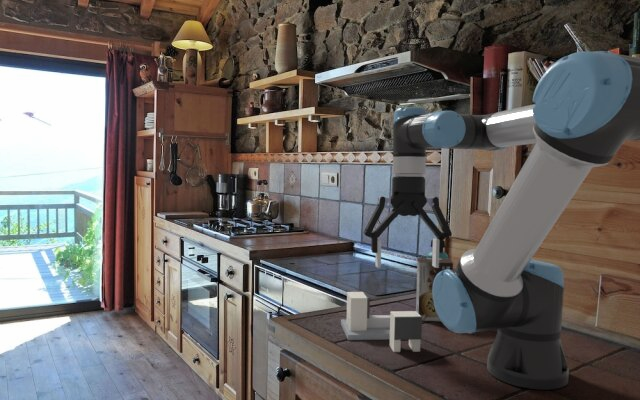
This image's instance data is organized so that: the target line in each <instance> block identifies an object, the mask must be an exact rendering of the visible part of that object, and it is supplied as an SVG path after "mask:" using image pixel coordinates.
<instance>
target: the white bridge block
mask: <svg viewBox="0 0 640 400" xmlns="http://www.w3.org/2000/svg"><path fill="white" fill-rule="evenodd" d="M389 313H390V314H389V315H390V339H389V344H388V345H389V348H391V350H392V352H393V353H400V352H401V345H402V344H401V340H402V341H403V340H408V346H409V348H410V349H411V351H412V352H413V353H414V352H421V340H422V329H423V327H422V325H423V321H422V317H421V316H420V315H419V314H418V313H417V312H416V310H404V311H403V310H402V311H401V310H400V311H399V310H397V311H391V310H390V312H389Z"/></svg>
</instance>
